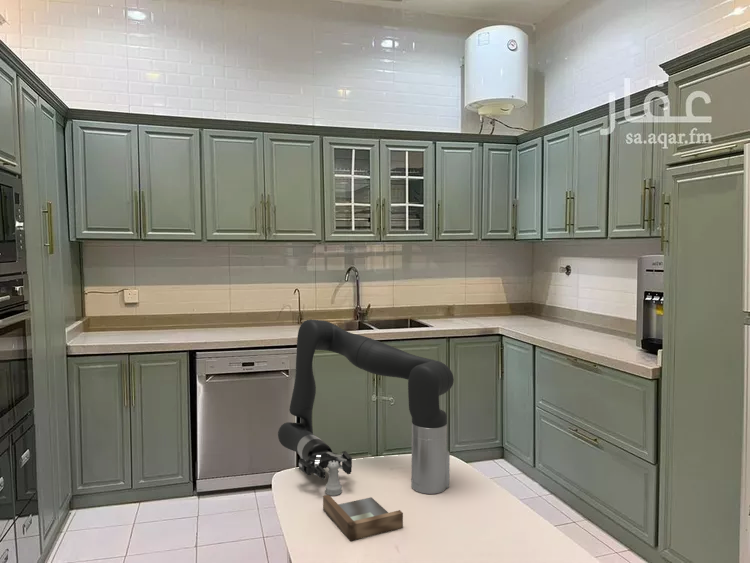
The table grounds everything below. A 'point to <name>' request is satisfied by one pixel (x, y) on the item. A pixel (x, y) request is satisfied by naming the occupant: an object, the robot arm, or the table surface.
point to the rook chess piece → (333, 479)
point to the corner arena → (362, 517)
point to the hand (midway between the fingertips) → (337, 472)
